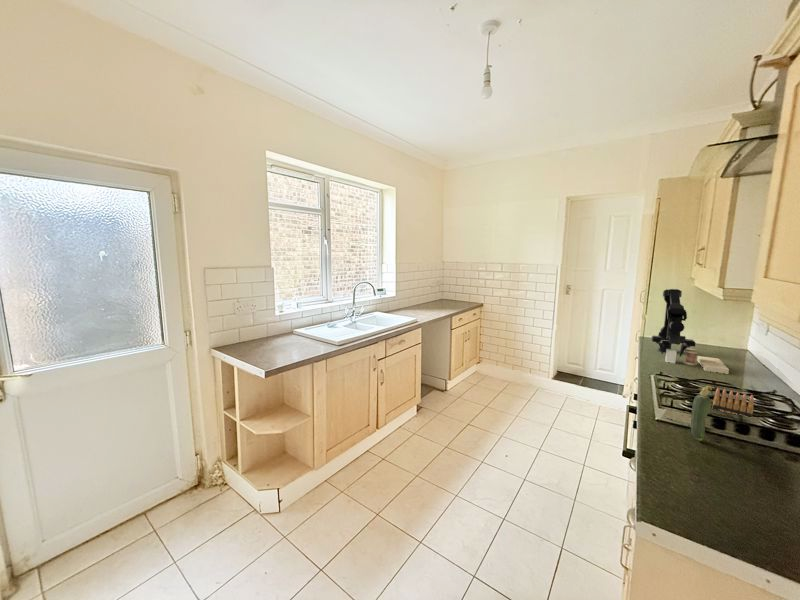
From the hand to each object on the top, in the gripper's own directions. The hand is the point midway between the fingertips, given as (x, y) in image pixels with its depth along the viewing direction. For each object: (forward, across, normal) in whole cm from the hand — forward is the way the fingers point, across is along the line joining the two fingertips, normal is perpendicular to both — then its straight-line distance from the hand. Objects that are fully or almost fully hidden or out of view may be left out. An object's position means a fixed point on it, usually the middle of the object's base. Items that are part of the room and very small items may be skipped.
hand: (671, 355), depth 184 cm
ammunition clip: (+6, +10, -70) cm, 71 cm away
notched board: (+4, +18, +2) cm, 19 cm away
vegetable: (+6, -3, -94) cm, 94 cm away
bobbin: (+4, +9, +2) cm, 10 cm away
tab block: (+4, 0, 0) cm, 4 cm away
